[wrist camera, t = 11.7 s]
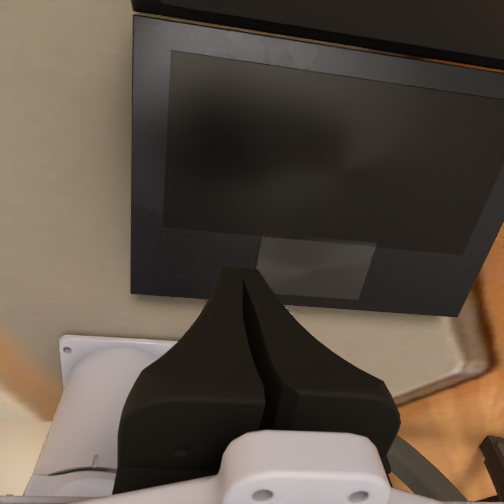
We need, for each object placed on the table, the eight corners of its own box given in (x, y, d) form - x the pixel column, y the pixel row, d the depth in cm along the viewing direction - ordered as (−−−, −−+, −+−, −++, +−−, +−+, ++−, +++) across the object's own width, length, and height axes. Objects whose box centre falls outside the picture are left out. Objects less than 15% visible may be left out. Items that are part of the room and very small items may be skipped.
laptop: (446, 302, 29) (458, 318, 27) (134, 278, 26) (129, 295, 25) (548, 77, 22) (572, 83, 20) (138, 12, 19) (131, 14, 18)
